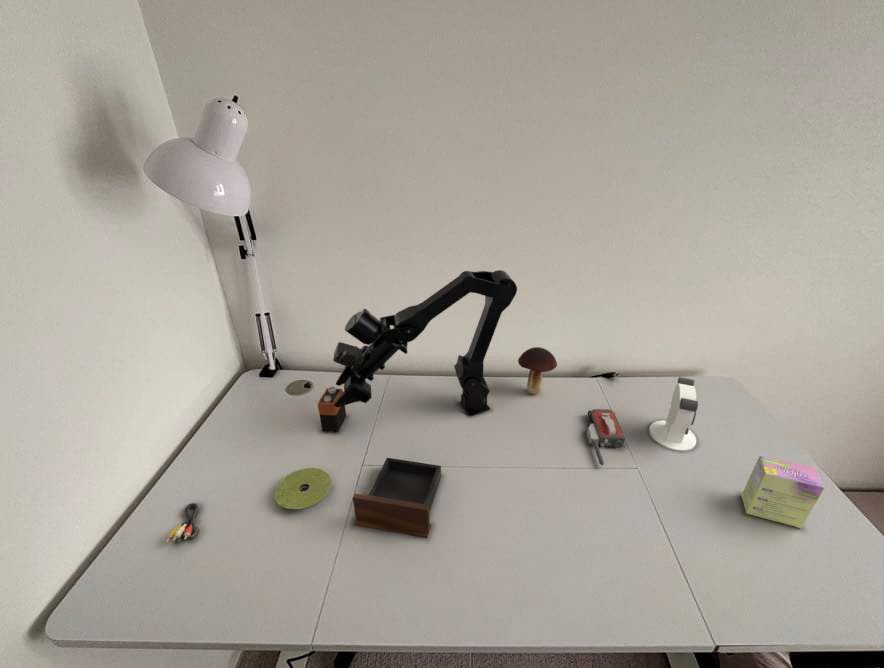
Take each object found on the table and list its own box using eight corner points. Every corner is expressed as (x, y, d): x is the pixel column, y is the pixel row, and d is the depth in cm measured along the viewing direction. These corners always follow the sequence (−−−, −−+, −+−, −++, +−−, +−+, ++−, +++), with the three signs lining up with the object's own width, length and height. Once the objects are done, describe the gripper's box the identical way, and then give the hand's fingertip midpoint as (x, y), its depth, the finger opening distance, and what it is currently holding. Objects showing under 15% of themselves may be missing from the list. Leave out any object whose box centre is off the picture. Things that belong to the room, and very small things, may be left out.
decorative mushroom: (507, 391, 128) (511, 347, 121) (532, 378, 135) (537, 335, 128) (536, 409, 122) (541, 363, 114) (560, 394, 128) (567, 349, 121)
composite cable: (187, 506, 89) (184, 498, 88) (213, 503, 90) (209, 495, 89) (167, 549, 81) (162, 540, 80) (195, 545, 82) (191, 537, 81)
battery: (347, 416, 116) (342, 385, 111) (338, 433, 110) (333, 401, 105) (331, 415, 116) (326, 384, 112) (321, 432, 110) (315, 400, 106)
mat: (292, 525, 86) (291, 518, 85) (266, 493, 93) (265, 487, 92) (342, 493, 94) (341, 486, 93) (315, 466, 100) (314, 459, 99)
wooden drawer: (382, 467, 101) (380, 444, 97) (446, 477, 98) (446, 454, 95) (354, 525, 87) (350, 500, 83) (427, 538, 85) (426, 513, 81)
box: (793, 507, 94) (816, 467, 88) (801, 529, 89) (825, 487, 84) (740, 494, 97) (758, 454, 91) (745, 514, 92) (764, 473, 86)
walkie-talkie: (579, 415, 120) (596, 468, 102) (581, 402, 118) (599, 454, 100) (611, 415, 120) (634, 469, 102) (614, 402, 118) (637, 455, 100)
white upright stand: (698, 457, 107) (716, 408, 99) (649, 445, 110) (664, 397, 103) (693, 427, 117) (710, 380, 109) (649, 417, 120) (662, 371, 113)
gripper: (352, 317, 110) (312, 358, 113) (351, 354, 94) (305, 401, 97) (385, 342, 116) (347, 380, 119) (390, 381, 100) (345, 424, 103)
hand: (336, 395), depth 109 cm, fingers open, 9 cm apart
